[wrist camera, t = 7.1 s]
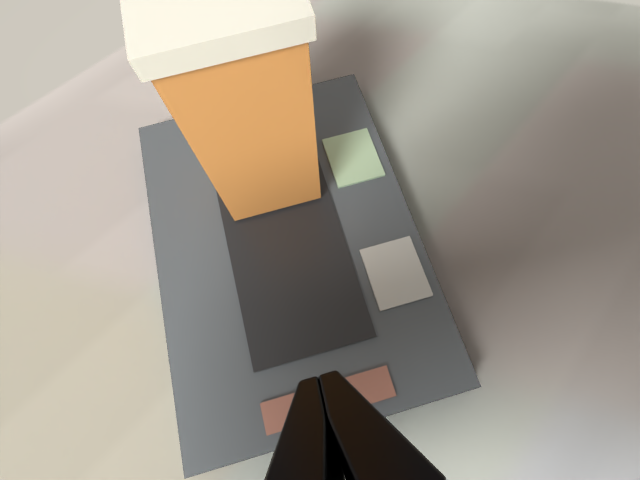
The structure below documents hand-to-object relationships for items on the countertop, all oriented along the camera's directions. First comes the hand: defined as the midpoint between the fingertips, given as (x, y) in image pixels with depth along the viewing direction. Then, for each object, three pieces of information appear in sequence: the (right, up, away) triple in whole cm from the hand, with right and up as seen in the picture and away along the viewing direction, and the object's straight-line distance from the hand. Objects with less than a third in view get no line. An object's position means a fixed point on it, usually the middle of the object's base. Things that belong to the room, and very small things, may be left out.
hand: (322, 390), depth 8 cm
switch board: (-1, +3, +8) cm, 8 cm away
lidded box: (-2, +6, +8) cm, 10 cm away
